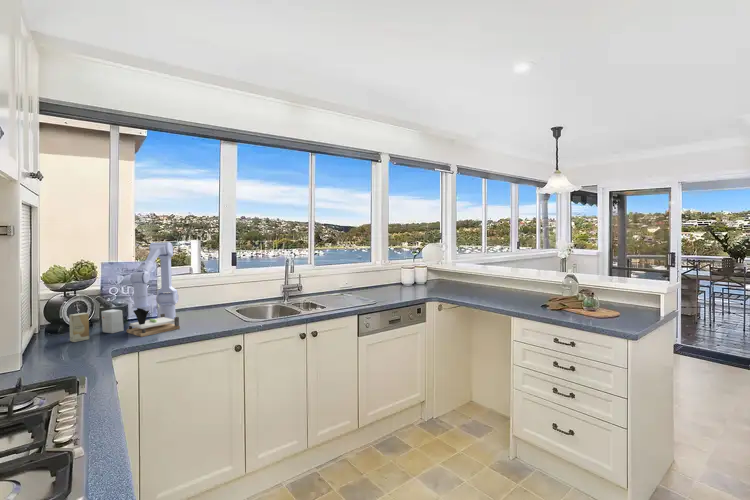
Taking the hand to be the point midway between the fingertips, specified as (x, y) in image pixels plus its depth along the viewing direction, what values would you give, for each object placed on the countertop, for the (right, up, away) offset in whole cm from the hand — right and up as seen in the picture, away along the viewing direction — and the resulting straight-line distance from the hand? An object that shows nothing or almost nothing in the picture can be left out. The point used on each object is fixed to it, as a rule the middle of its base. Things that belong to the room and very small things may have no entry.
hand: (141, 324), depth 185 cm
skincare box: (-22, -6, -11) cm, 25 cm away
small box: (-17, -5, +4) cm, 18 cm away
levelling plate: (+3, -1, +5) cm, 6 cm away
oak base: (+3, -4, +4) cm, 7 cm away
